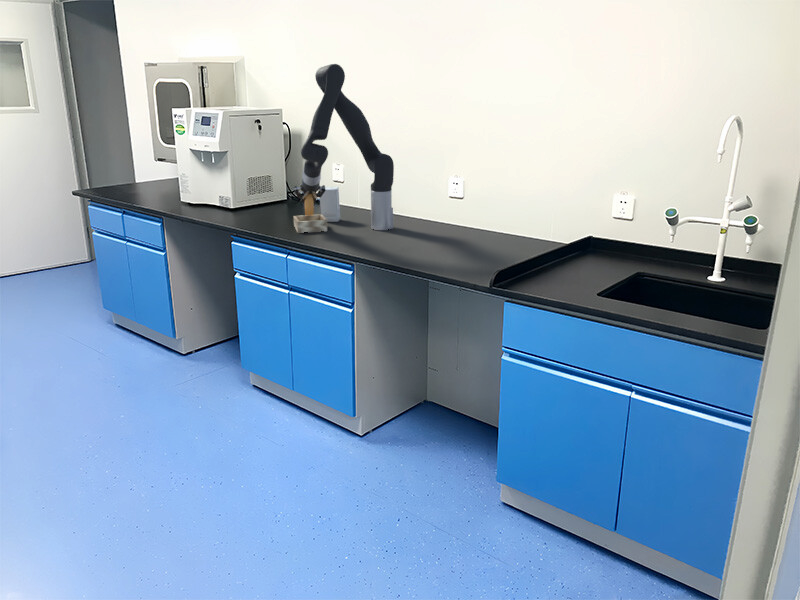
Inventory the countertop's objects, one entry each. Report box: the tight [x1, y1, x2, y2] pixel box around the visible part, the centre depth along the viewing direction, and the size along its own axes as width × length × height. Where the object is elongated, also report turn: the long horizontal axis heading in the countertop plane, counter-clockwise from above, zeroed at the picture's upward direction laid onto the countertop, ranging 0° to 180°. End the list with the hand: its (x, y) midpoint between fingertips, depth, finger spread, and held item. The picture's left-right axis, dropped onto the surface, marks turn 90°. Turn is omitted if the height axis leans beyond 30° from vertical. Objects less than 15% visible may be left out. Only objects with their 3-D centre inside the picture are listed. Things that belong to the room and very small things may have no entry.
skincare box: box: [319, 186, 341, 223], centre depth 297 cm, size 8×7×16 cm
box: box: [293, 213, 328, 234], centre depth 282 cm, size 13×13×5 cm
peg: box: [303, 194, 315, 216], centre depth 279 cm, size 4×4×12 cm
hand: (308, 201), depth 281 cm, fingers closed on peg, 4 cm apart
